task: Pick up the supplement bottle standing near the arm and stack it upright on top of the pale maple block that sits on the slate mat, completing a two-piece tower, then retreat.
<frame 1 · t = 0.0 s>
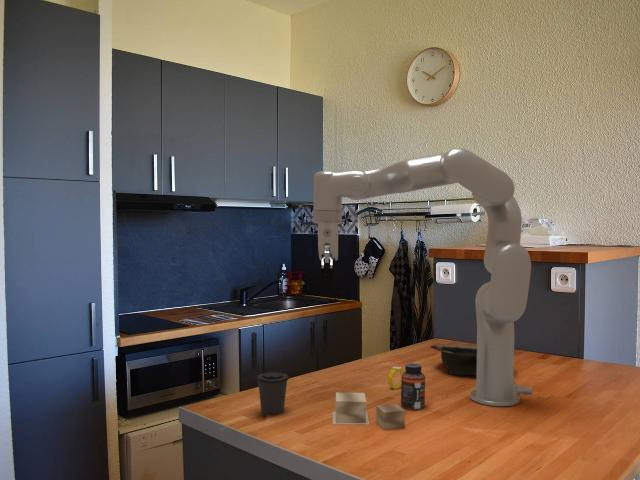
hand: (327, 281, 153), 31 cm above the worktop, tool pointing down, fingers open, 9 cm apart
slate mat: (358, 419, 136), on the worktop
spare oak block: (390, 425, 131), point 1 cm above the worktop, touching slate mat
supplement bottle: (412, 410, 144), on the worktop
maple block: (350, 417, 135), point 1 cm above the worktop, touching slate mat
watch: (396, 388, 163), on the worktop
coffee cup: (272, 414, 140), on the worktop
black cooking pot: (470, 371, 183), on the worktop
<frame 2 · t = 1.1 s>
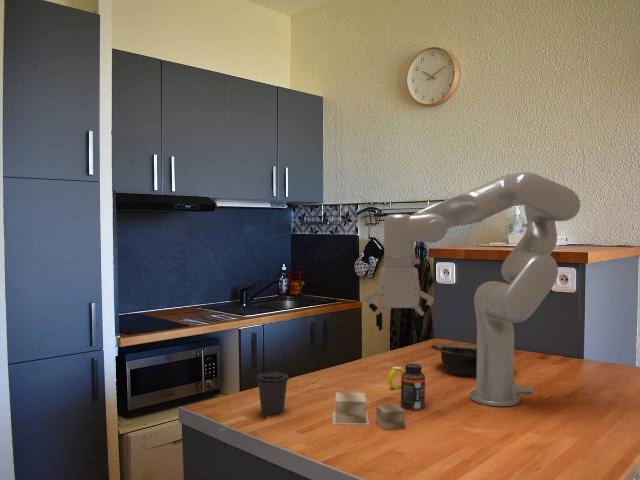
hand: (399, 329, 145), 20 cm above the worktop, tool pointing down, fingers open, 9 cm apart
nothing on the worktop moved.
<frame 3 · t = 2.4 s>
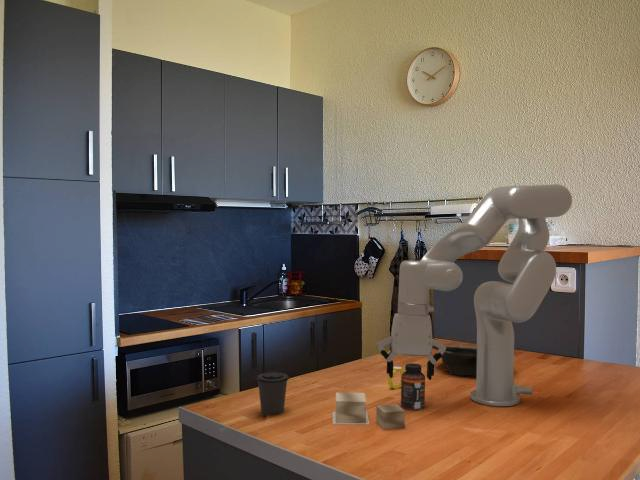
hand: (409, 377, 143), 8 cm above the worktop, tool pointing down, fingers open, 9 cm apart
nothing on the worktop moved.
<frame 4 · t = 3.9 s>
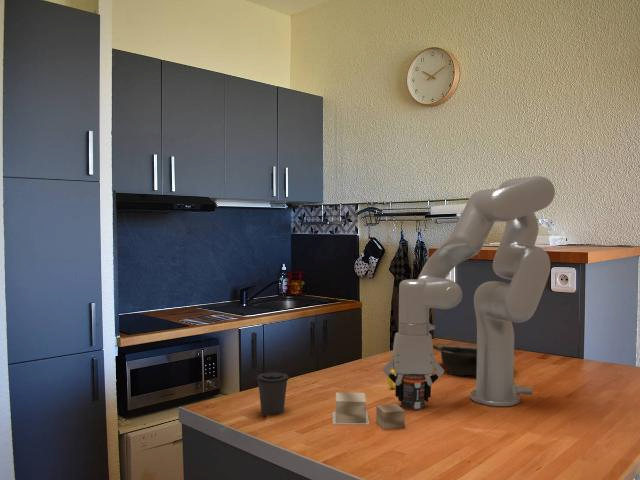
hand: (412, 399, 144), 3 cm above the worktop, tool pointing down, fingers closed on supplement bottle, 6 cm apart
supplement bottle: (412, 410, 144), on the worktop, touching gripper
everything else where it was.
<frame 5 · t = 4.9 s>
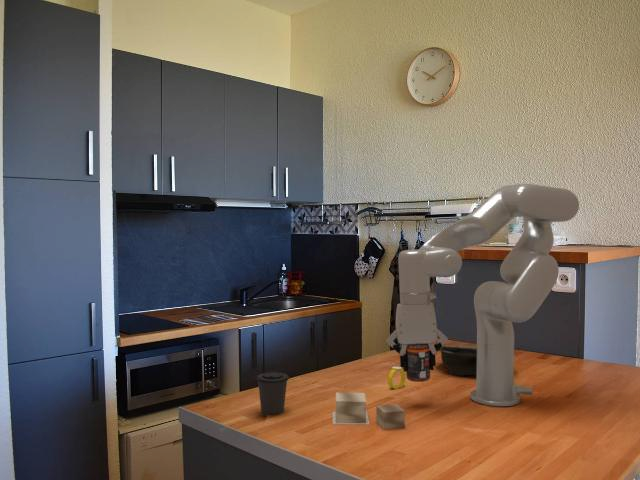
hand: (418, 368, 144), 10 cm above the worktop, tool pointing down, fingers closed on supplement bottle, 6 cm apart
supplement bottle: (418, 379, 144), point 7 cm above the worktop, touching gripper
everything else where it was.
when the fingers open (10 cm above the worktop, at t = 9.2 s): supplement bottle drops 1 cm, resting on maple block.
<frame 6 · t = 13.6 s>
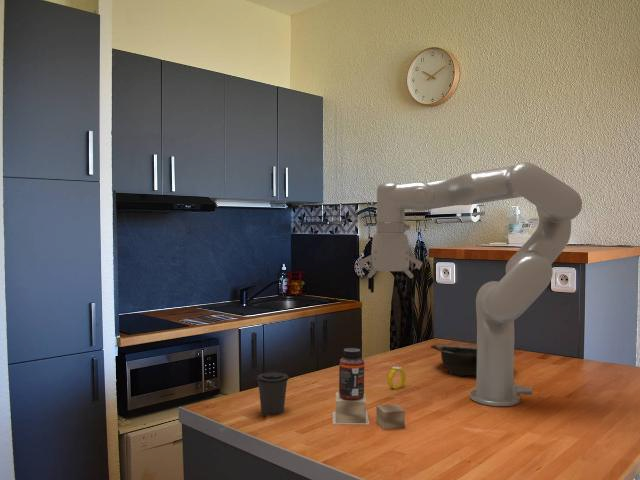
hand: (389, 292, 154), 28 cm above the worktop, tool pointing down, fingers open, 9 cm apart
supplement bottle: (351, 397, 135), point 5 cm above the worktop, touching maple block
maple block: (350, 417, 135), point 1 cm above the worktop, touching supplement bottle, slate mat
everything else where it was.
at the end: supplement bottle 0.2 cm off-centre on the maple block, point 4.8 cm above the maple block's base; supplement bottle tilted 0°; the gripper is holding nothing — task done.
